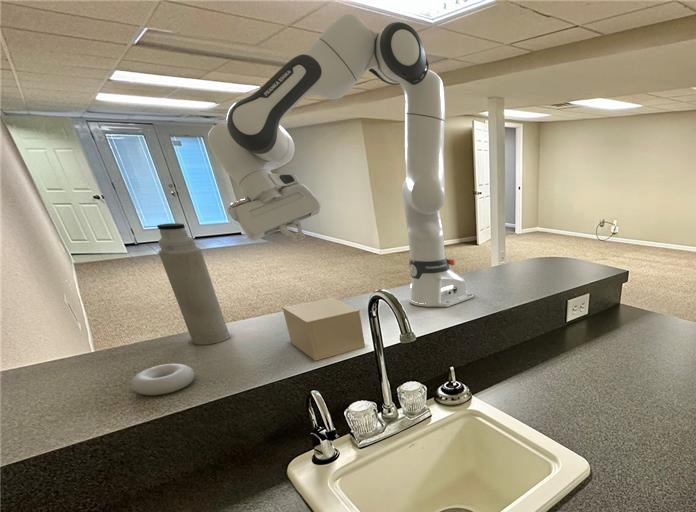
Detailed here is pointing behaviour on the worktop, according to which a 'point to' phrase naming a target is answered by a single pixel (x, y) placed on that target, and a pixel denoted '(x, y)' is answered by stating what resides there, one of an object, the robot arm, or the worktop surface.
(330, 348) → the tan cardboard box
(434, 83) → the robot arm
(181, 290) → the thermos bottle
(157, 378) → the donut
